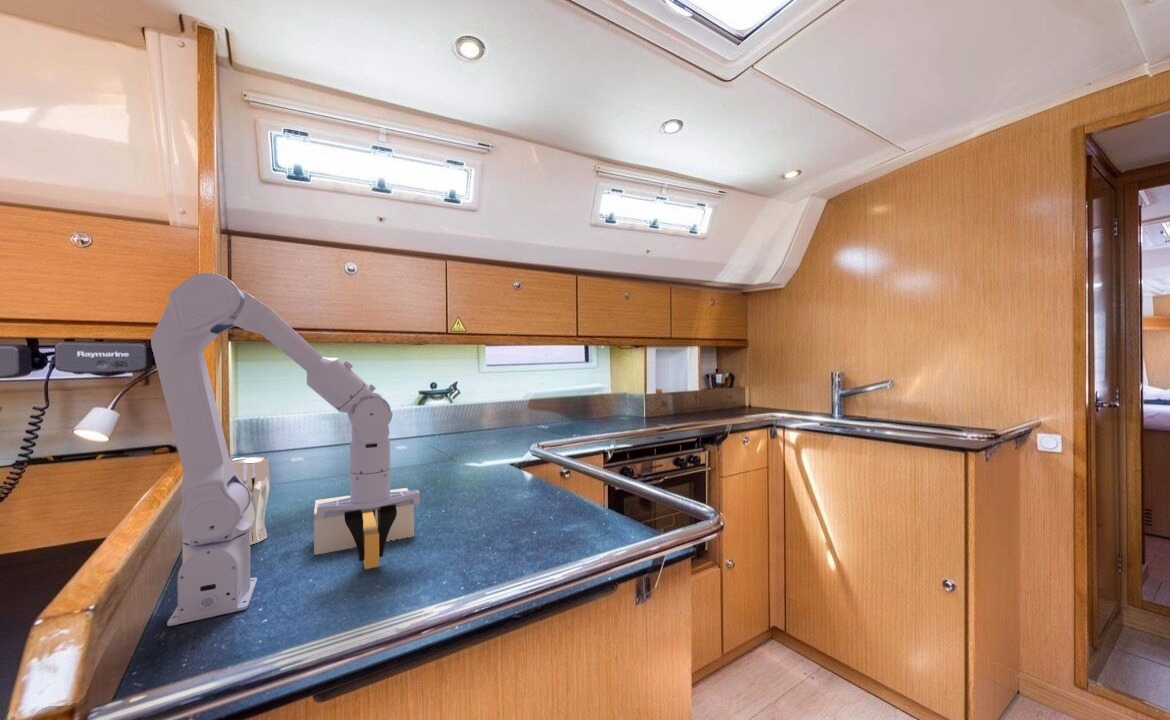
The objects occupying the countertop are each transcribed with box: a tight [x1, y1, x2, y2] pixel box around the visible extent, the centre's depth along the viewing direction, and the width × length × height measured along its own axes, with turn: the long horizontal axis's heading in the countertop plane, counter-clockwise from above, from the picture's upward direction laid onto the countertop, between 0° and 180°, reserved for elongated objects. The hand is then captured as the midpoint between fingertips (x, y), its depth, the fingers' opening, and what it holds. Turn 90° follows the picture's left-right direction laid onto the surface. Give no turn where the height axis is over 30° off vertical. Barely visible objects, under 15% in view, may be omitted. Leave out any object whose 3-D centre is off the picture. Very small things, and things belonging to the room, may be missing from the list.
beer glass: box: [230, 455, 271, 546], centre depth 83 cm, size 7×7×15 cm
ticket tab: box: [362, 510, 380, 570], centre depth 75 cm, size 14×2×5 cm, turn 29°
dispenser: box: [313, 487, 415, 556], centre depth 84 cm, size 10×16×7 cm, turn 119°
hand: (370, 556), depth 71 cm, fingers closed on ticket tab, 2 cm apart
